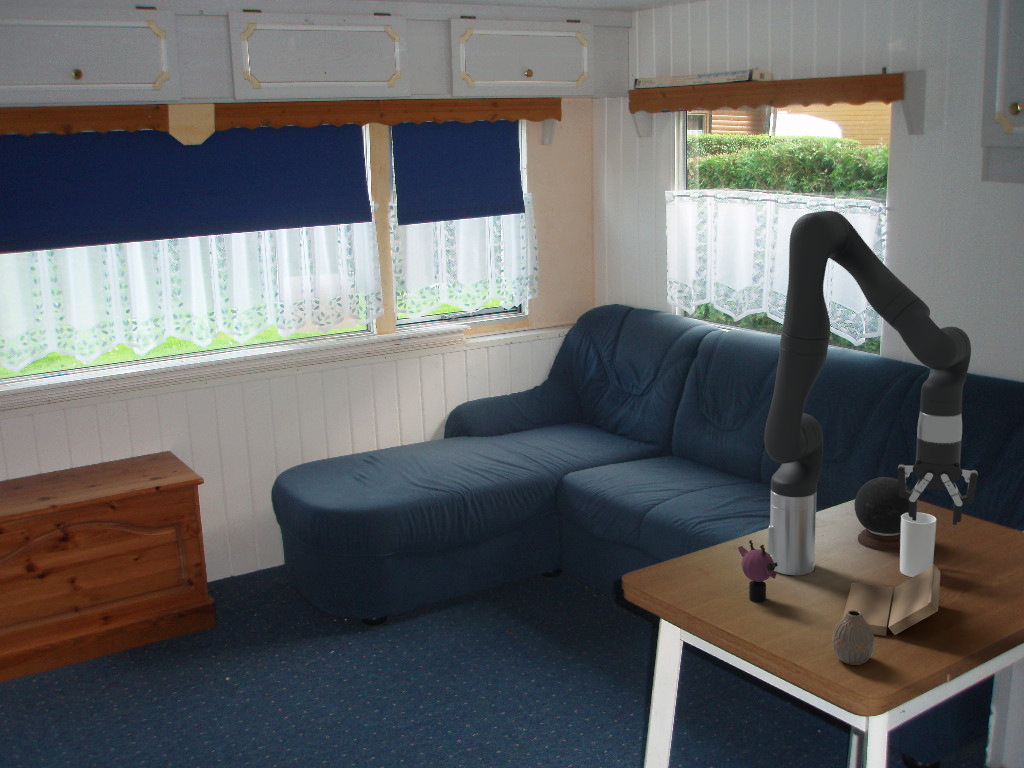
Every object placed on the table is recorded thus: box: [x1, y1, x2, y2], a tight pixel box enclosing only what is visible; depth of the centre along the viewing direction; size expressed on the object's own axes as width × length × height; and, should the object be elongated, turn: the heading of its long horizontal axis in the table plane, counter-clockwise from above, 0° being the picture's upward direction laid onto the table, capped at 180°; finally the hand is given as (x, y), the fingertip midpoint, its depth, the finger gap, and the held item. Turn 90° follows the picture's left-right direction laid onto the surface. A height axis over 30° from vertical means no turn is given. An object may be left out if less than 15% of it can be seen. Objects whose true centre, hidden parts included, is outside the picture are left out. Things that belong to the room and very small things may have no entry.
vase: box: [831, 610, 876, 666], centre depth 171 cm, size 7×7×9 cm
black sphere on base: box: [854, 476, 913, 552], centre depth 222 cm, size 13×13×15 cm
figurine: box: [737, 539, 778, 603], centre depth 196 cm, size 8×8×12 cm
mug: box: [899, 511, 937, 578], centre depth 206 cm, size 10×7×12 cm, turn 132°
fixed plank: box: [842, 582, 894, 637], centre depth 189 cm, size 8×18×2 cm, turn 156°
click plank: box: [888, 563, 941, 636], centre depth 185 cm, size 9×18×2 cm
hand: (934, 521), depth 186 cm, fingers open, 6 cm apart
